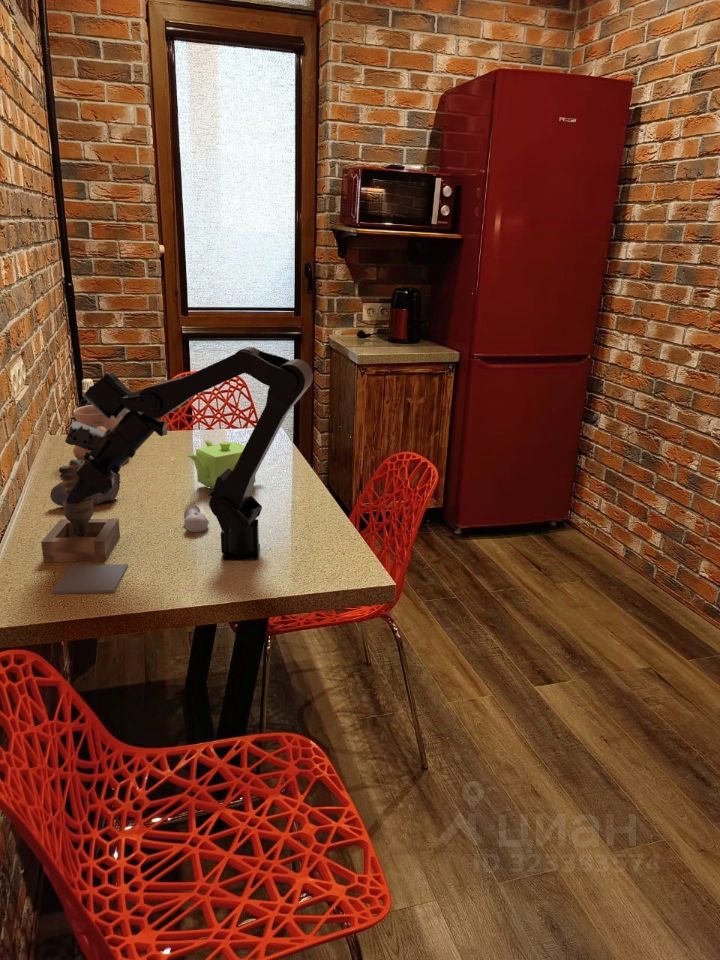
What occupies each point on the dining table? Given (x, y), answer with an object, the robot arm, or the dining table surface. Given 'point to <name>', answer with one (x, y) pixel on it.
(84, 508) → the light bulb
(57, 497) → the perforated stone tool
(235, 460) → the kettle
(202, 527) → the pale two-lobed sculpture
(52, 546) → the socket block
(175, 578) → the dining table surface
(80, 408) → the ceramic jug
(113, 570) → the rubber mat
